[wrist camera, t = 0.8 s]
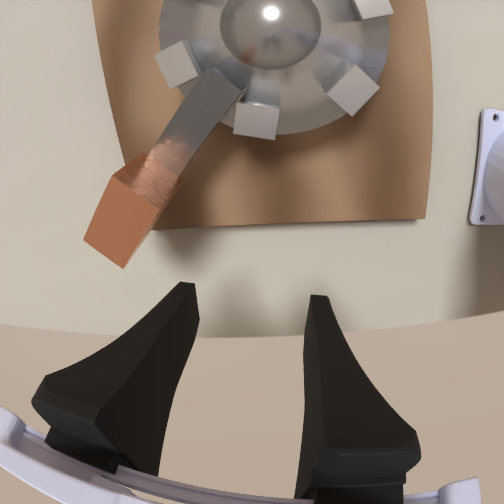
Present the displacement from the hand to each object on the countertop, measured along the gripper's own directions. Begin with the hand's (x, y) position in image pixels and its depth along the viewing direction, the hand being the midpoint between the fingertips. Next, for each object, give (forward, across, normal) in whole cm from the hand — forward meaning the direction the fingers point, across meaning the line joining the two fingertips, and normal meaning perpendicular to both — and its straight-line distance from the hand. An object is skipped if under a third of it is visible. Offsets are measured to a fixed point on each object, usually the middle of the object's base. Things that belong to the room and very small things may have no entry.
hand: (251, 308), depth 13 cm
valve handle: (+8, +2, -8) cm, 11 cm away
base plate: (+9, +1, -10) cm, 14 cm away
